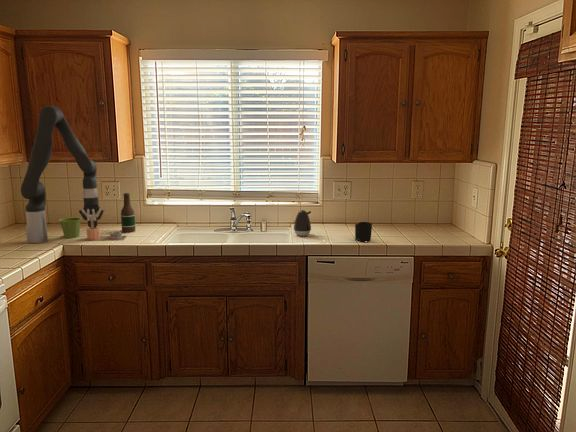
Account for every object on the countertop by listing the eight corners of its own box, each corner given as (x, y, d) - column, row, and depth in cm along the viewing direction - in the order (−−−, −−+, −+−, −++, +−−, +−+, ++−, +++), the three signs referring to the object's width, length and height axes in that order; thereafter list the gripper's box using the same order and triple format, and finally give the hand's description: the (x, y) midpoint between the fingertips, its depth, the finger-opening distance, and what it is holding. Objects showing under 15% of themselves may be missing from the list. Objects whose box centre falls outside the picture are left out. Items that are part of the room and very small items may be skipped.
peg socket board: (83, 243, 250) (82, 235, 249) (89, 238, 260) (88, 231, 260) (123, 242, 253) (123, 235, 252) (127, 237, 263) (127, 230, 263)
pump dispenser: (313, 236, 269) (314, 211, 266) (297, 237, 266) (297, 212, 263) (307, 232, 279) (308, 208, 276) (291, 233, 276) (291, 209, 273)
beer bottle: (121, 234, 270) (118, 194, 265) (123, 231, 277) (120, 192, 273) (134, 234, 271) (132, 194, 267) (136, 231, 279) (134, 192, 274)
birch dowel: (91, 238, 254) (89, 220, 252) (92, 237, 256) (90, 219, 254) (95, 237, 254) (93, 220, 252) (96, 236, 257) (95, 219, 255)
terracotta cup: (86, 240, 252) (85, 229, 251) (89, 237, 258) (88, 227, 257) (98, 239, 253) (97, 229, 252) (101, 237, 259) (100, 226, 258)
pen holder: (352, 238, 265) (353, 221, 263) (368, 238, 266) (369, 221, 264) (356, 242, 256) (357, 225, 254) (373, 242, 257) (374, 225, 255)
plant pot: (83, 235, 267) (81, 216, 265) (83, 239, 257) (82, 220, 255) (60, 237, 262) (58, 218, 260) (60, 241, 252) (58, 221, 250)
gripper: (75, 197, 246) (77, 228, 250) (102, 197, 248) (104, 228, 251) (79, 195, 254) (81, 226, 257) (105, 195, 255) (107, 225, 259)
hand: (93, 227), depth 254 cm, fingers closed on birch dowel, 2 cm apart
